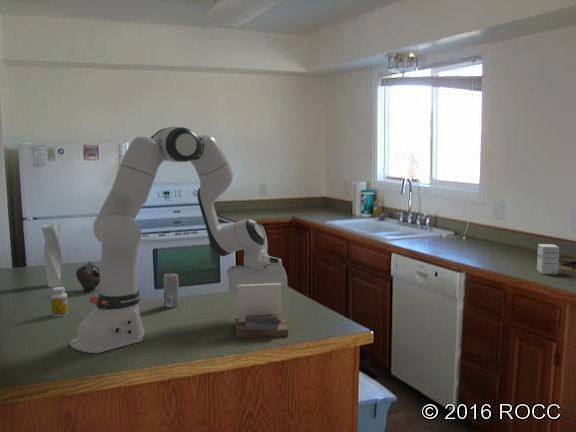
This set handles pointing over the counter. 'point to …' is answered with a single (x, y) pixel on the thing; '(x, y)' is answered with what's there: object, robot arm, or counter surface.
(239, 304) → the white flat panel
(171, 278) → the energy drink
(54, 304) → the supplement bottle
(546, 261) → the supplement box
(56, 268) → the skyscraper
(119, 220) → the robot arm
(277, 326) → the bar
